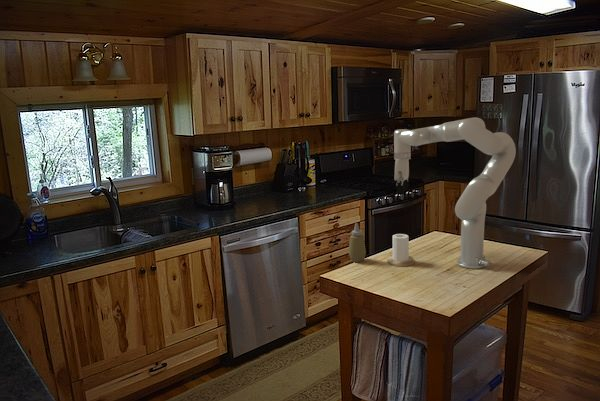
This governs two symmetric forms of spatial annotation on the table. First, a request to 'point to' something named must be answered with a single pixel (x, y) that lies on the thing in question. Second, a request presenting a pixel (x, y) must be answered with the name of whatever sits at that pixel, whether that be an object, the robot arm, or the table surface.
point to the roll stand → (400, 264)
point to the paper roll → (400, 247)
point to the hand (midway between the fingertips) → (402, 191)
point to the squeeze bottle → (357, 245)
